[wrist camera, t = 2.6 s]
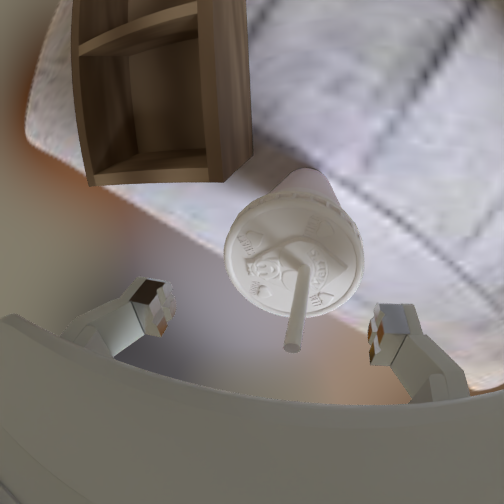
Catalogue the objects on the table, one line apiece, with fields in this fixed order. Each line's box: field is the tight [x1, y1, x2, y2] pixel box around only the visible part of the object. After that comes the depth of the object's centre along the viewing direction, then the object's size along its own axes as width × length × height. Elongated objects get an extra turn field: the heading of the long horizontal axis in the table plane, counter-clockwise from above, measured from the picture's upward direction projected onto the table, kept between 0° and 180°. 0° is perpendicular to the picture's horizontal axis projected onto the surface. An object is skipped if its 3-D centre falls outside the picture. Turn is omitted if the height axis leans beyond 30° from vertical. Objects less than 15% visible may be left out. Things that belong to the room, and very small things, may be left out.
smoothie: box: [224, 168, 364, 353], centre depth 14 cm, size 6×6×14 cm
